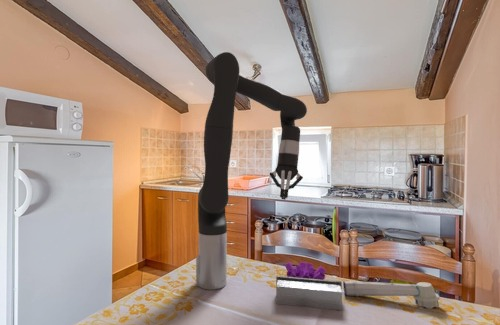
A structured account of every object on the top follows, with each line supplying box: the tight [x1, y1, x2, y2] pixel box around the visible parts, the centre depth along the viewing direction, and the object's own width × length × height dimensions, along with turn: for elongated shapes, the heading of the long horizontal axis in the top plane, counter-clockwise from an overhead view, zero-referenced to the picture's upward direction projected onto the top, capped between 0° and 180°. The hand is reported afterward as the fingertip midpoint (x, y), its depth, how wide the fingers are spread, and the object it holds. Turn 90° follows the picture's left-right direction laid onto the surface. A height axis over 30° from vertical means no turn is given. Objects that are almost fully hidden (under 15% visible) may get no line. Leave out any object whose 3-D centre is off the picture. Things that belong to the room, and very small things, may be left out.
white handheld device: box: [342, 279, 440, 310], centre depth 83 cm, size 5×7×25 cm
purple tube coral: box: [284, 261, 327, 280], centre depth 93 cm, size 11×15×10 cm
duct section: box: [275, 275, 343, 311], centre depth 82 cm, size 19×6×6 cm, turn 79°
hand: (283, 199), depth 105 cm, fingers closed
